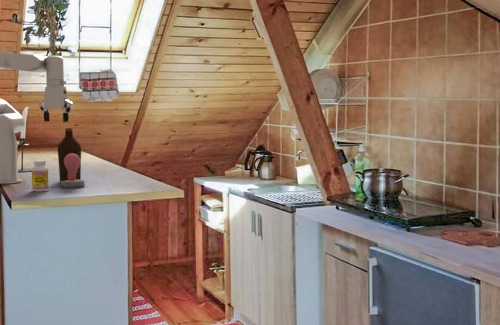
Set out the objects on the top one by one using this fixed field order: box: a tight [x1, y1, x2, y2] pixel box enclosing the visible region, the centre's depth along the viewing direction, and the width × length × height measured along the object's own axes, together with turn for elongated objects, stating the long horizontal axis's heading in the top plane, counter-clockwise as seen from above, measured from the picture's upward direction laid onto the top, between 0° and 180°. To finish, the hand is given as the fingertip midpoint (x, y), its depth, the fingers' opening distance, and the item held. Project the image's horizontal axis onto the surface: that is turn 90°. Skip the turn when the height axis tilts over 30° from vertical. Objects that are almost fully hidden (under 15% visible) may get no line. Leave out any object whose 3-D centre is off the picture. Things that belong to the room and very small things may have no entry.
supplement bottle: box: [31, 159, 49, 193], centre depth 273 cm, size 7×7×13 cm
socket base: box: [60, 179, 86, 189], centre depth 285 cm, size 10×10×3 cm
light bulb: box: [64, 153, 82, 180], centre depth 285 cm, size 7×7×12 cm
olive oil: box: [57, 127, 82, 183], centre depth 301 cm, size 11×11×25 cm
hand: (56, 121), depth 292 cm, fingers open, 9 cm apart
